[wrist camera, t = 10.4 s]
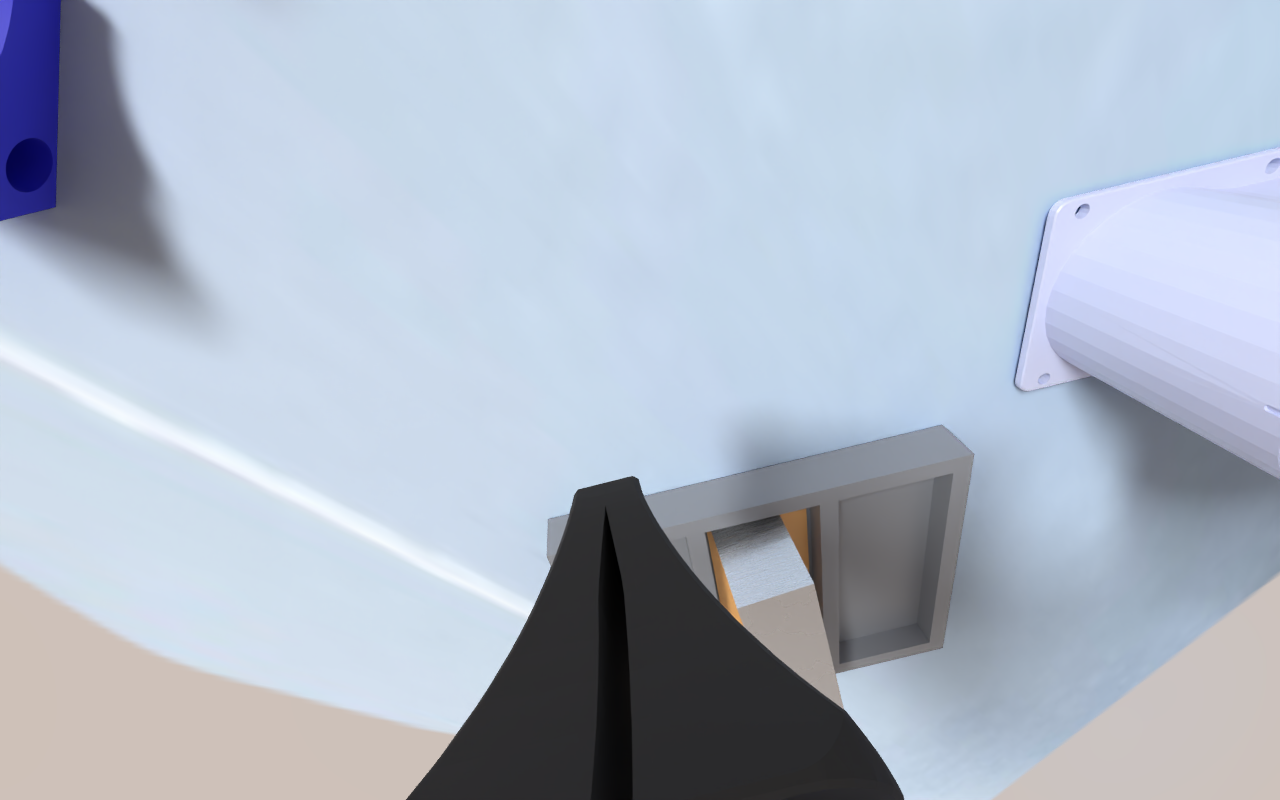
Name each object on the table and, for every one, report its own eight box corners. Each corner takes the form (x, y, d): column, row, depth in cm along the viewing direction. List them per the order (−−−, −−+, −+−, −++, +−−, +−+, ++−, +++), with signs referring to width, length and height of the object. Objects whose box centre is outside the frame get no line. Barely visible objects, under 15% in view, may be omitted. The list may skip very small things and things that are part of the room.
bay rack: (942, 424, 24) (977, 456, 22) (919, 614, 31) (944, 651, 29) (548, 519, 24) (546, 560, 22) (615, 687, 31) (618, 730, 29)
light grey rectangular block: (773, 502, 24) (814, 583, 20) (807, 631, 29) (845, 716, 25) (708, 524, 24) (737, 608, 20) (754, 649, 29) (783, 735, 25)
